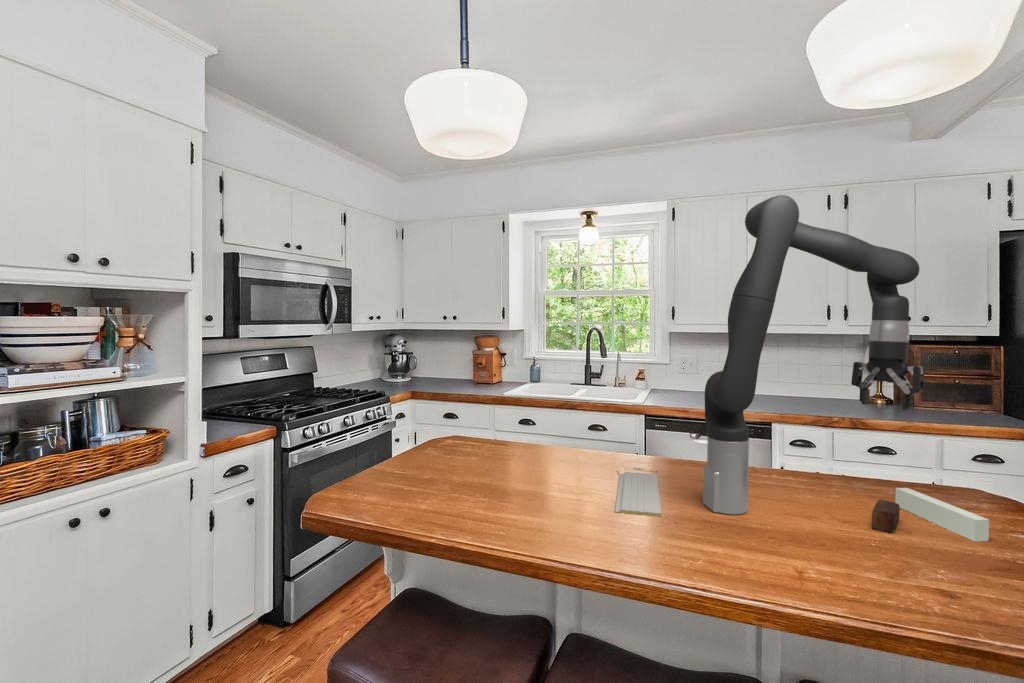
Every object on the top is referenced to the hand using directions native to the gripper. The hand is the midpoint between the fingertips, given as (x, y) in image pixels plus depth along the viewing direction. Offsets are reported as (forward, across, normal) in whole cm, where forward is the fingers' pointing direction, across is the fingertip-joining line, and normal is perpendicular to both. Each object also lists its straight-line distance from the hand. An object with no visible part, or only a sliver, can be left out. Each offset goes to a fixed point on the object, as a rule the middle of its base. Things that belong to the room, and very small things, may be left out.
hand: (885, 407), depth 120 cm
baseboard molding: (+27, -38, -43) cm, 64 cm away
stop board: (+25, +10, +2) cm, 27 cm away
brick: (+25, +5, -9) cm, 28 cm away
